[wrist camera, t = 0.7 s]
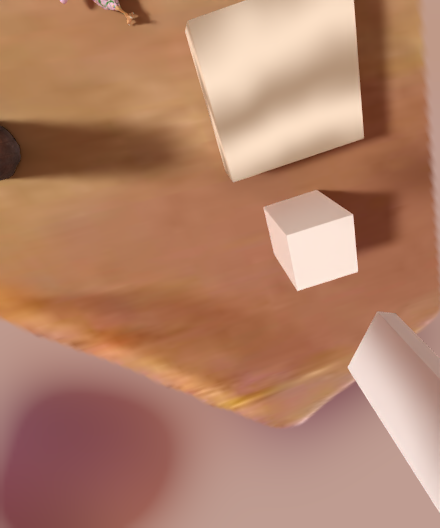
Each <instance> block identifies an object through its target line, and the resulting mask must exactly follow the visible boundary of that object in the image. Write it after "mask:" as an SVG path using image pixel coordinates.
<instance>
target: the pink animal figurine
mask: <svg viewBox="0 0 440 528" xmlns="http://www.w3.org/2000/svg"><path fill="white" fill-rule="evenodd" d="M60 1H61V3H63V4H65V3H67V0H60ZM93 1H94V2H95V3H97V4H98V5H99V6H101V7H102V8H104V9H106V10H117V11H120V12H122V13H123V14H124V15H125V16H126V17H127V19H128V20H127V24H128V25H129V23H130V22H131V21H132V19H133V15H132V14H134V12H131V13H130V14H128V13H126V12H125V11H123V10H122V8H121V6H120V4H119V1H118V0H93Z"/></svg>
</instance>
